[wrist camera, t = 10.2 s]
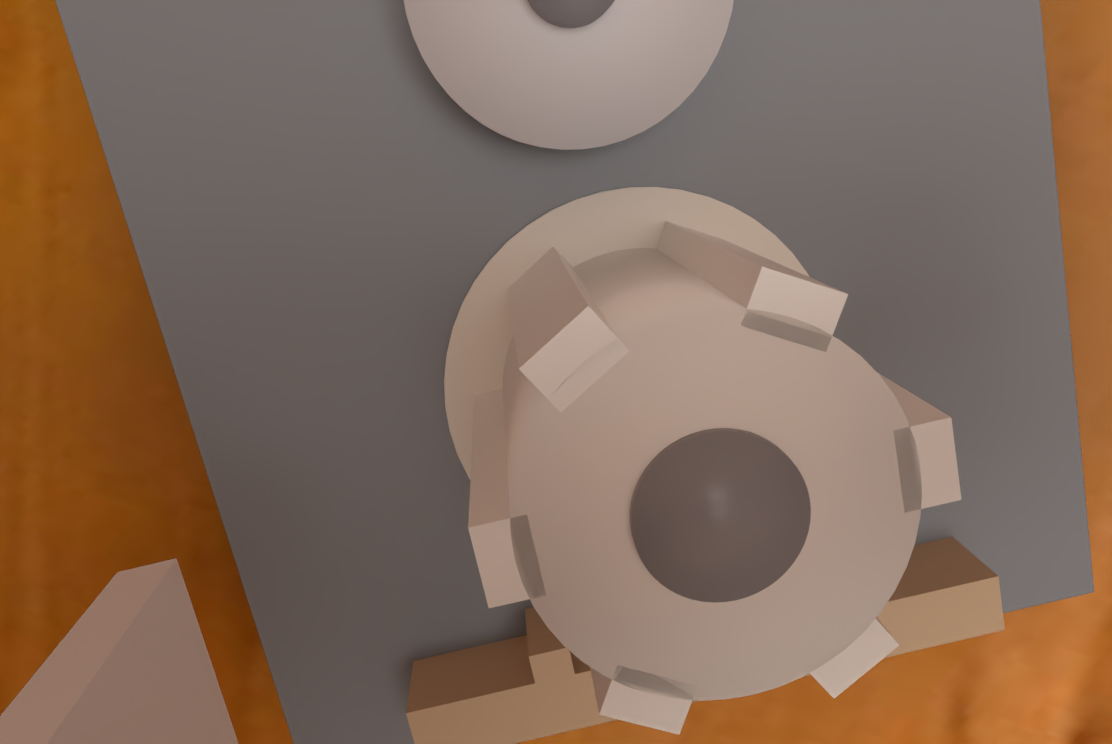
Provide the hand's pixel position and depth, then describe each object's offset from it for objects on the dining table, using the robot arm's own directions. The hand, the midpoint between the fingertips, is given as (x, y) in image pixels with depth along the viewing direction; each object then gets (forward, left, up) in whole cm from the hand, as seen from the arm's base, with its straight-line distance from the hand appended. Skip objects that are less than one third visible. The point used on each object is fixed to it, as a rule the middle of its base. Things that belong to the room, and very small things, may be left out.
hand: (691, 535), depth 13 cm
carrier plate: (0, +2, -9) cm, 9 cm away
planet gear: (0, 0, -7) cm, 7 cm away
